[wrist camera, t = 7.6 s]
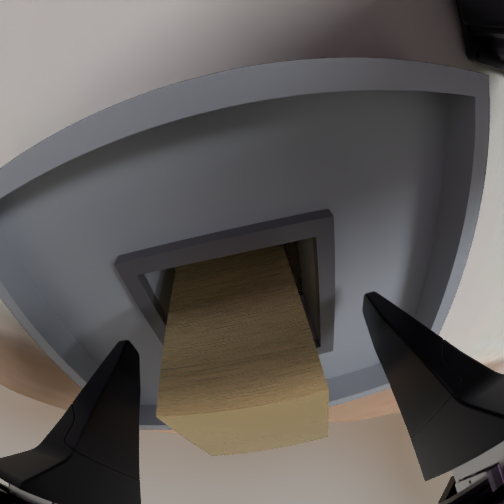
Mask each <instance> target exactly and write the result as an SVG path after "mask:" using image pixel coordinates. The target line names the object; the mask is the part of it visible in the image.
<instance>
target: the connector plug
mask: <svg viewBox="0 0 504 504" xmlns="http://www.w3.org/2000/svg"><path fill="white" fill-rule="evenodd" d="M328 414H329V389H328V385H327V382H326V379H325V375H324V372H323V369H322V365H321V362H320V359H319V355H318V352H317V349H316V346H315V342H314V339H313V336H312V333H311V330H310V327H309V323H308V320H307V317H306V314H305V311H304V308H303V305H302V302H301V299H300V296H299V293H298V289H297V286H296V283H295V280H294V277H293V274H292V271H291V269H290V266H289V263H288V260H287V257H286V254H285V251H284V248H283V245H282V244H280V245H275V246H271V247H266V248H261V249H257V250H252V251H247V252H243V253H238V254H233V255H229V256H224V257H219V258H215V259H210V260H205V261H201V262H196V263H191V264H187V265H182V266H178V267H176V272H175V278H174V283H173V289H172V295H171V300H170V306H169V313H168V319H167V326H166V332H165V339H164V347H163V354H162V362H161V370H160V379H159V388H158V399H157V410H156V417H157V418H158V419H160V420H161V421H162V422H163V423H165V424H166V425H167V426H169V427H170V428H171V429H173V430H174V431H176V432H177V433H178V434H180V435H181V436H183V437H184V438H186V439H187V440H188V441H190V442H191V443H193V444H194V445H196V446H197V447H199V448H200V449H202V450H204V451H205V452H207V453H208V454H210V455H212V456H217V455H229V454H239V453H247V452H255V451H262V450H268V449H273V448H279V447H285V446H290V445H295V444H300V443H304V442H309V441H313V440H317V439H321V438H325V437H328Z"/></svg>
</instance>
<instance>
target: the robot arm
mask: <svg viewBox="0 0 504 504" xmlns="http://www.w3.org/2000/svg"><path fill="white" fill-rule="evenodd" d="M456 3H457V7H458V11H459V15H460V20H461V25H462V30H463V36H464V42H465V49H466V54H467V56H468V58H469V59H470V60H471V61H472V62H475V63H479V64H482V65H486V66H489V67H492V68H495V69H498V70H501V71H504V0H456ZM474 52H475V53H474ZM362 312H363V316H364V319H365V322H366V325H367V328H368V331H369V334H370V337H371V340H372V343H373V346H374V349H375V352H376V354H377V356H378V358H379V361H380V363H381V365H382V368H383V370H384V372H385V375H386V377H387V379H388V382H389V384H390V386H391V389H392V391H393V394H394V396H395V399H396V401H397V404H398V406H399V409H400V411H401V414H402V416H403V419H404V422H405V424H406V427H407V430H408V432H409V435H410V438H411V441H412V444H413V446H414V449H415V452H416V455H417V458H418V461H419V464H420V467H421V470H422V473H423V477H424V479H425V481H427V480H430V479H432V478H435V477H437V476H439V475H441V474H444V473H446V472H448V471H450V470H452V472H453V475H454V476H452V477H451V479H450V480H449V483H448V485H447V487H446V489H445V491H444V493H443V495H442V496H441V498H440V500H439V502H438V503H439V504H504V374H500V373H498V372H495V371H493V370H492V369H490V368H488V367H486V366H485V365H483V364H481V363H480V362H478V361H476V360H475V359H473V358H471V357H469V356H468V355H466V354H465V353H463V352H461V351H460V350H458V349H457V348H456V347H454V346H453V345H451V344H450V343H449V342H447V341H446V340H443V338H441V337H440V336H439V335H437V334H436V333H435V332H433V331H432V330H430V329H429V328H428V327H426V326H425V325H423V324H422V323H421V322H419V321H418V320H416V319H415V318H413V317H412V316H411V315H409V314H408V313H406V312H405V311H403V310H402V309H400V308H399V307H398V306H396V305H395V304H393V303H392V302H390V301H389V300H387V299H386V298H384V297H383V296H382V295H380V294H379V293H377V292H375V291H372V292H369V293H365V294H364V298H363V307H362ZM140 394H141V384H140V356H139V353H138V351H137V350H136V348H135V347H134V346H133V344H132V343H131V342H130V341H129V340H121V341H119V342H118V343H117V344H116V345H115V347H114V348H113V349H112V350H111V352H110V353H109V354H108V356H107V357H106V358H105V360H104V361H103V362H102V363H101V365H100V366H99V367H98V369H97V370H96V371H95V373H94V374H93V375H92V377H91V378H90V379H89V381H88V382H87V384H86V385H85V386H84V388H83V389H82V390H81V392H80V393H79V394H78V396H77V397H76V399H75V400H74V401H73V404H71V406H70V407H69V408H68V410H67V411H66V413H65V414H64V415H63V417H62V418H61V419H60V420H59V422H58V423H57V424H56V425H55V427H54V428H53V429H52V430H51V431H50V433H49V434H48V435H47V436H46V438H45V439H44V440H43V441H42V442H41V444H40V445H38V446H37V447H36V448H34V449H32V450H29V451H25V452H22V453H18V454H14V455H11V456H7V457H3V458H0V478H1V479H3V480H4V481H6V482H8V483H9V487H8V486H6V485H3V484H1V483H0V504H141V497H140V480H139V479H140V478H139V416H140Z"/></svg>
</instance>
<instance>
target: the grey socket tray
mask: <svg viewBox="0 0 504 504" xmlns="http://www.w3.org/2000/svg"><path fill="white" fill-rule="evenodd" d="M489 123H490V97H489V77H488V75H486V74H482V73H478V72H474V71H470V70H465V69H461V68H456V67H450V66H445V65H439V64H433V63H426V62H418V61H409V60H399V59H385V58H317V59H303V60H292V61H282V62H274V63H267V64H260V65H254V66H248V67H242V68H237V69H232V70H227V71H222V72H217V73H213V74H209V75H205V76H200V77H197V78H193V79H189V80H185V81H182V82H178V83H175V84H172V85H168V86H165V87H162V88H159V89H156V90H153V91H150V92H147V93H144V94H141V95H139V96H136V97H133V98H131V99H128V100H125V101H123V102H120V103H118V104H115V105H113V106H111V107H108V108H106V109H104V110H101V111H99V112H97V113H95V114H93V115H90V116H88V117H86V118H84V119H82V120H80V121H78V122H76V123H74V124H72V125H70V126H68V127H66V128H64V129H62V130H60V131H59V132H57V133H55V134H53V135H51V136H50V137H48V138H46V139H44V140H43V141H41V142H39V143H38V144H36V145H34V146H33V147H31V148H29V149H28V150H26V151H25V152H23V153H22V154H20V155H19V156H17V157H16V158H14V159H13V160H11V161H10V162H8V163H7V164H5V165H4V166H3V167H1V168H0V298H1V299H2V301H3V302H4V303H5V305H6V306H7V307H8V309H9V310H10V311H11V313H12V314H13V315H14V317H15V318H16V319H17V320H18V322H19V323H20V324H21V325H22V327H23V328H24V329H25V330H26V331H27V333H28V334H29V335H30V336H31V337H32V339H33V340H34V341H35V342H36V343H37V344H38V345H39V346H40V348H41V349H42V350H43V351H44V352H45V353H46V354H47V355H48V356H49V357H50V358H51V359H52V360H53V361H54V362H55V363H56V364H57V365H58V366H59V367H60V368H61V369H62V370H63V371H64V372H65V373H66V374H67V375H68V376H69V377H70V378H71V379H72V380H73V381H74V382H75V383H76V384H78V385H79V386H80V387H81V388H82V389H83V388H84V386H85V385H86V384H87V382H88V381H89V379H90V378H91V377H92V375H93V374H94V373H95V371H96V370H97V369H98V367H99V366H100V365H101V363H102V362H103V361H104V360H105V358H106V357H107V356H108V354H109V353H110V352H111V350H112V349H113V348H114V347H115V345H116V344H117V343H118V342H119V341H121V340H129V341H130V342H131V343H132V344H133V346H134V347H135V348H136V350H137V351H138V353H139V356H140V384H141V394H140V416H139V429H141V430H173V429H171V428H170V427H169V426H167V425H166V424H165V423H163V422H162V421H161V420H160V419H158V418H157V417H156V410H157V399H158V388H159V379H160V370H161V362H162V354H163V347H164V339H165V332H166V326H167V319H168V313H169V306H170V300H171V295H172V289H173V283H174V278H175V272H176V270H175V268H174V267H178V266H182V265H187V264H191V263H196V262H201V261H205V260H210V259H215V258H219V257H224V256H229V255H233V254H238V253H243V252H247V251H252V250H257V249H261V248H266V247H271V246H275V245H280V244H285V243H289V242H294V241H298V249H299V258H300V267H301V277H302V287H303V295H300V299H301V302H302V305H303V308H304V311H305V314H306V317H307V320H308V323H309V327H310V330H311V333H312V336H313V339H314V342H315V346H316V349H317V352H318V355H319V359H320V362H321V365H322V369H323V372H324V375H325V379H326V382H327V385H328V389H329V407H331V406H335V405H338V404H342V403H345V402H348V401H352V400H355V399H358V398H361V397H364V396H367V395H370V394H373V393H376V392H379V391H382V390H385V389H387V388H390V387H391V386H390V384H389V382H388V379H387V377H386V375H385V372H384V370H383V368H382V365H381V363H380V361H379V358H378V356H377V354H376V352H375V349H374V346H373V343H372V340H371V337H370V334H369V331H368V328H367V325H366V322H365V319H364V316H363V312H362V307H363V298H364V294H365V293H369V292H372V291H375V292H377V293H379V294H380V295H382V296H383V297H384V298H386V299H387V300H389V301H390V302H392V303H393V304H395V305H396V306H398V307H399V308H400V309H402V310H403V311H405V312H406V313H408V314H409V315H411V316H412V317H413V318H415V319H416V320H418V321H419V322H421V323H422V324H423V325H425V326H426V327H428V328H429V329H430V330H432V331H433V332H435V333H436V334H437V335H439V333H440V331H441V329H442V326H443V324H444V322H445V319H446V317H447V315H448V312H449V310H450V307H451V305H452V302H453V300H454V297H455V294H456V292H457V289H458V286H459V283H460V280H461V277H462V274H463V271H464V268H465V265H466V262H467V258H468V255H469V252H470V248H471V244H472V241H473V237H474V233H475V228H476V224H477V220H478V215H479V210H480V205H481V200H482V194H483V188H484V181H485V174H486V166H487V156H488V144H489Z"/></svg>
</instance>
